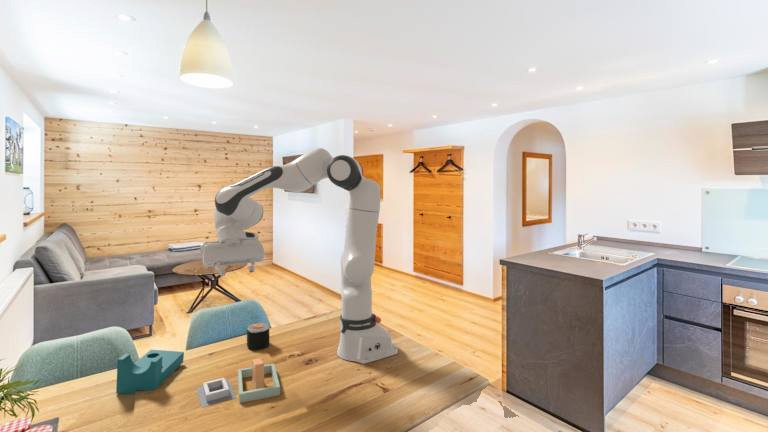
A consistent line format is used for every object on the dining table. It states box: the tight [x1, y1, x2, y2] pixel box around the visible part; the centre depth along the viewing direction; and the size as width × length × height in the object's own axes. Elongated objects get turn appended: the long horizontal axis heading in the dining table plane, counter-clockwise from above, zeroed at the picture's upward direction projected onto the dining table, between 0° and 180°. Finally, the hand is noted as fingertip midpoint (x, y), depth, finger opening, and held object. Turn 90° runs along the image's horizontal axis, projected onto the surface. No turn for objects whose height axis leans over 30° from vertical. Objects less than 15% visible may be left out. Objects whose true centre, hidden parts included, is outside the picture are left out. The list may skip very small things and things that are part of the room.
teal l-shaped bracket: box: [115, 349, 185, 395], centre depth 120 cm, size 18×11×10 cm, turn 3°
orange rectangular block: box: [251, 357, 265, 390], centre depth 115 cm, size 2×4×8 cm, turn 32°
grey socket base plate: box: [196, 377, 237, 409], centre depth 111 cm, size 9×12×3 cm
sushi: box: [246, 322, 270, 351], centre depth 144 cm, size 8×8×8 cm
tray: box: [237, 363, 281, 404], centre depth 115 cm, size 11×15×4 cm
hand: (237, 273), depth 129 cm, fingers open, 8 cm apart
